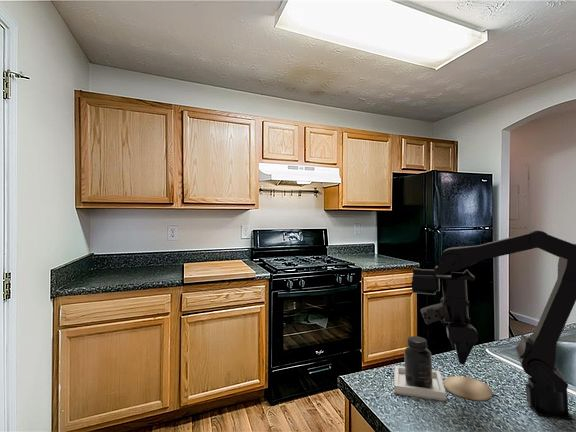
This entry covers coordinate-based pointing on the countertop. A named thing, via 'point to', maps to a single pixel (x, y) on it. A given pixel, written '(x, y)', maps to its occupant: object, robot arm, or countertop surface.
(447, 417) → the countertop surface
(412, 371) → the supplement bottle
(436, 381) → the white tray
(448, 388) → the cork coaster
